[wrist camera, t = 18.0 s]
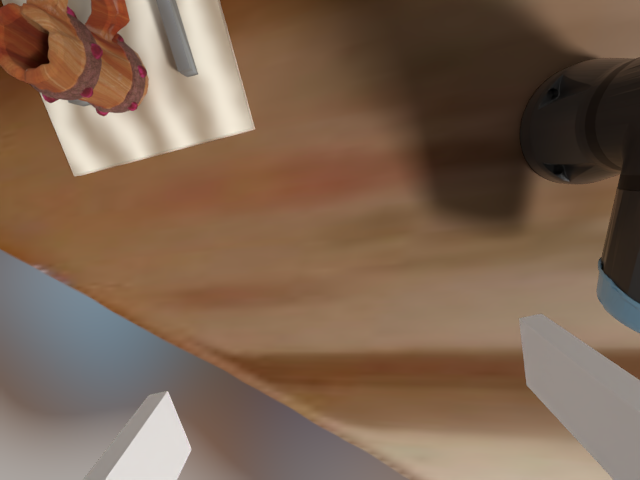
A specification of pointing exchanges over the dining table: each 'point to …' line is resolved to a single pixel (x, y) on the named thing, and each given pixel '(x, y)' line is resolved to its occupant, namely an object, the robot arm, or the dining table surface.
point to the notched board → (160, 88)
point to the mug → (73, 53)
